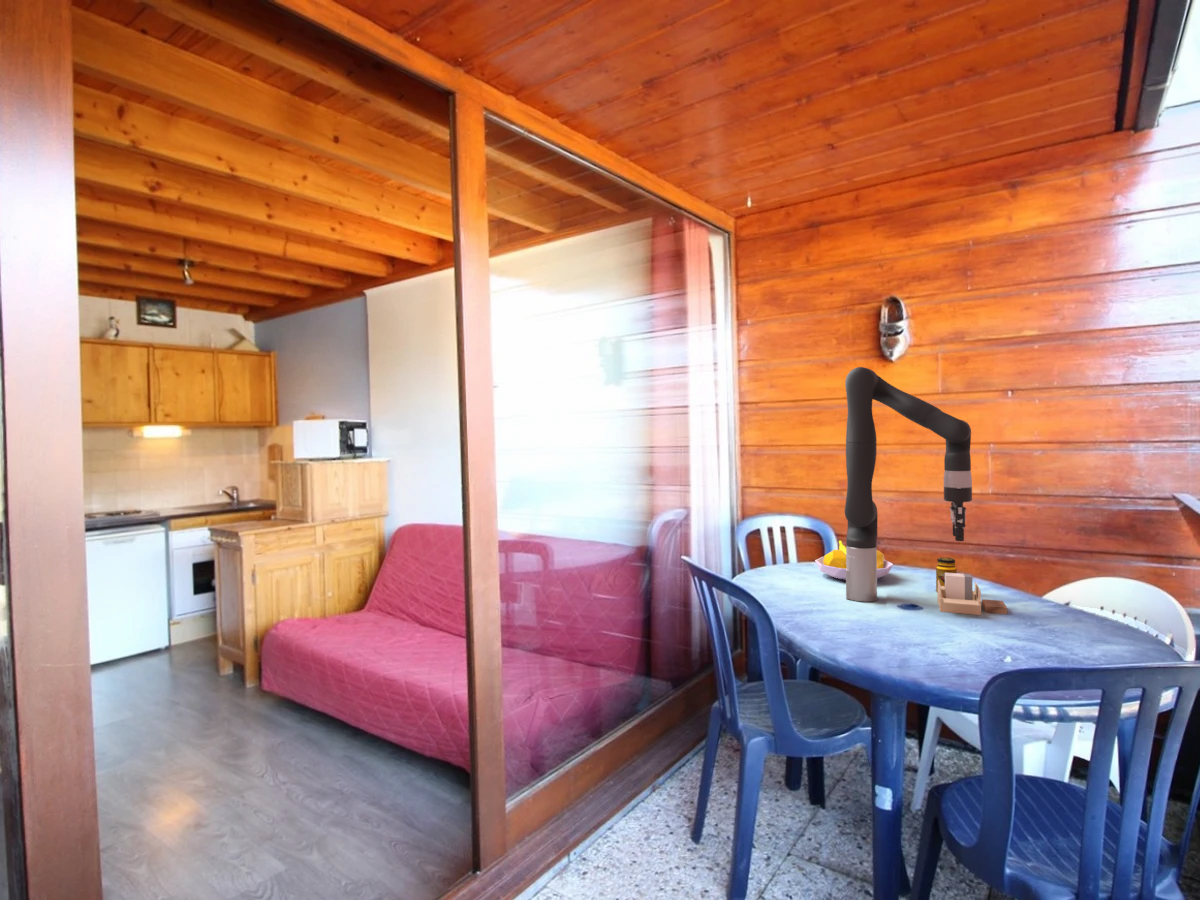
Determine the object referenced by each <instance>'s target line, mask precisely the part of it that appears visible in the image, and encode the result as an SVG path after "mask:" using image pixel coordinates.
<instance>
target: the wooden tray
mask: <svg viewBox="0 0 1200 900" xmlns="http://www.w3.org/2000/svg"><path fill="white" fill-rule="evenodd" d="M936 593H937V594H936V595H937V604H938V609H939V611H940V612H942V613H952V614H965V615H977V616H982V599H981V598H982V597H981V596H982V595H981V594H982V593H981V588H980V587H979V585H978V583H977V582H974V590H973V589H972V600H961V599H948V598H945V586H941V585H940V582H939V580H938V589H937V592H936Z"/></svg>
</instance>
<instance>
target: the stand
mask: <svg viewBox="0 0 1200 900" xmlns="http://www.w3.org/2000/svg"><path fill="white" fill-rule="evenodd" d="M981 608H983V610H984V613H986V614H999V615H1000V614H1001V615H1007V614H1008V608H1007V605H1006V604H1005V602H1004V601H1003V600H1000V599H999V600H998V599H983V598H982V599H981Z"/></svg>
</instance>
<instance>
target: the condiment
mask: <svg viewBox="0 0 1200 900" xmlns="http://www.w3.org/2000/svg"><path fill="white" fill-rule="evenodd" d="M936 561H937V563H936V564H937V566H936V567H935V574H936V575H935V581H936V582H935V584H936V585H935V590H934V591H935V592H936V593H937V589H938V580H939V582H940V585H941V586H945V573H958V572H957V570H958V569H957V567H956V560H955V558H952V557H938V558H937V559H936Z"/></svg>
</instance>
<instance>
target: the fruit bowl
mask: <svg viewBox="0 0 1200 900" xmlns="http://www.w3.org/2000/svg"><path fill="white" fill-rule="evenodd" d="M838 543H839V545H838V549H832V550H831V551H830V552H828V553H827V554H825V555H824V556H821V557H819V558H818V559H815V560H814V561H815V563H816V565H817V567H818V569H819V570H820V572H822V573H824V574H825V575H827V576H830V577H832V578H833V577H834V579H837V578H838V580H842V579H843V581H846V569H847V566H846V546H845V545H844V544H843V542H842V540H838ZM893 566H894V564H893V563H892V562H890V561H888V560H886V559H885V555H884V553H882V552H881V551H880V550H878V549H877V580H878V579H880V578H882V577H885V576H888V575H889V573H890V571H891V570H892V567H893Z"/></svg>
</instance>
